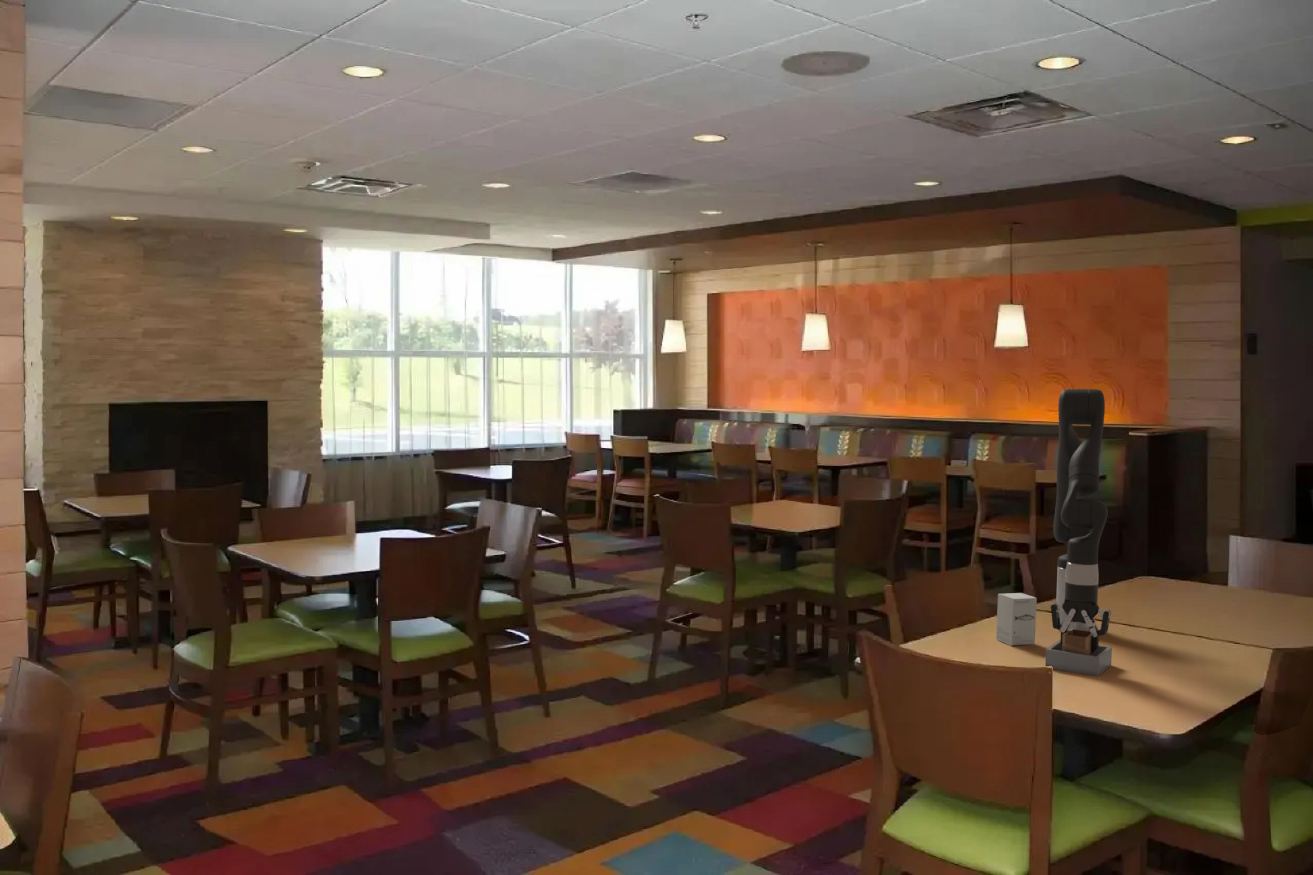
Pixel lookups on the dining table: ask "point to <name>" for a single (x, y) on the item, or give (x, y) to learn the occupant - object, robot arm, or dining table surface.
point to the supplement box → (1016, 619)
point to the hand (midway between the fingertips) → (1079, 648)
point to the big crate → (1079, 660)
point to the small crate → (1077, 641)
